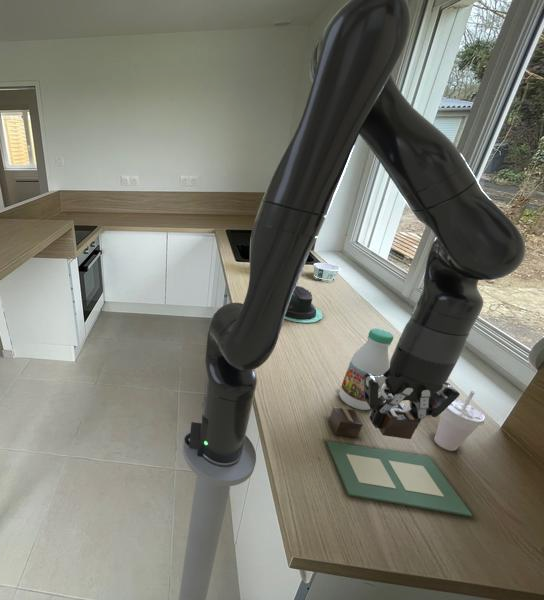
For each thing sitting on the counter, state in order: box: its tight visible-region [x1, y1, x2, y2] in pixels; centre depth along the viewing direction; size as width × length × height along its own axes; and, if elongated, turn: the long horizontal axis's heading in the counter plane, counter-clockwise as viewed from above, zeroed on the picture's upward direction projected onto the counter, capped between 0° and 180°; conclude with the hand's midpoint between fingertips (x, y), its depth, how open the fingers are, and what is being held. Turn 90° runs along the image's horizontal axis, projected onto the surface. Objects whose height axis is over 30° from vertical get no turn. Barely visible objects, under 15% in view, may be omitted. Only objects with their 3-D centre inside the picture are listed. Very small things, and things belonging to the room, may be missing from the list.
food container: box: [313, 262, 341, 283], centre depth 162 cm, size 12×12×7 cm
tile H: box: [377, 401, 420, 440], centre depth 58 cm, size 4×4×4 cm
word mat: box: [326, 441, 473, 518], centre depth 63 cm, size 20×12×1 cm, turn 80°
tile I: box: [328, 406, 363, 439], centre depth 73 cm, size 4×4×4 cm
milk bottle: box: [338, 328, 394, 411], centre depth 78 cm, size 8×8×20 cm
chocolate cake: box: [284, 285, 324, 324], centre depth 127 cm, size 15×19×20 cm
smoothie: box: [433, 390, 486, 452], centre depth 67 cm, size 6×6×14 cm
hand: (390, 426), depth 59 cm, fingers closed on tile H, 4 cm apart
